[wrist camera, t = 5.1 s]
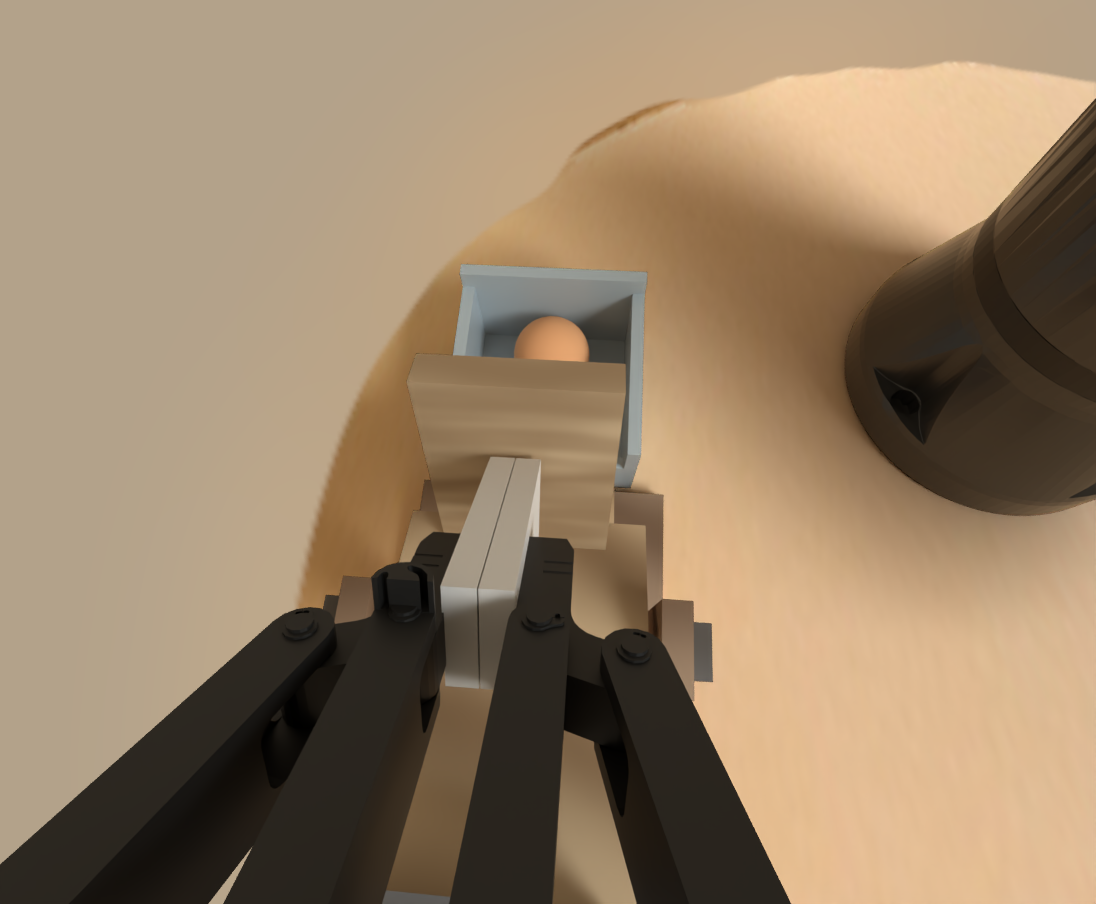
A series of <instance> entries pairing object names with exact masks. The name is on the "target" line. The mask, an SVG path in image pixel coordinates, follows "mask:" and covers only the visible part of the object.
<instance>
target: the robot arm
mask: <svg viewBox="0 0 1096 904" xmlns="http://www.w3.org/2000/svg"><path fill="white" fill-rule="evenodd" d="M845 373H846V381H847V387H848V390H849V394H850V398H851V400H852V403H853V406H854V408H855V411H856V413H857V415H858V417H859V419H860V421H861V423H862V425H863V426H864V428H865V429H866V431H867V433H868V434H869V435H870V437H871V438H872V440H873V441H874V442H875V444H876V445H877V446H878V447H879V448H880V450H881V451H882V452H883V453H884V454H885V455H886V456H887V457H888V458H889V459H890V460H891V461H892V462H893V463H894V464H895V465H896V466H897V467H898V468H900V469H901V470H902V471H903V472H904V473H906V474H907V475H908V476H910V477H911V478H912V479H914V480H915V481H917V482H918V483H920V484H921V485H923V486H924V487H926V488H928V489H929V490H931V491H933V492H935V493H936V494H938V495H941V496H943V497H945V498H947V499H949V500H951V501H954V502H956V503H959V504H962V505H964V506H967V507H970V508H974V509H978V510H981V511H986V512H991V513H996V514H1003V515H1015V516H1031V515H1042V514H1049V513H1054V512H1059V511H1062V510H1066V509H1069V508H1072V507H1075V506H1078V505H1081V504H1084V503H1086V502H1089V501H1092V500H1095V499H1096V99H1095V100H1094V101H1093V102H1092V103H1091V104H1090V105H1089V106H1088V107H1087V109H1086V110H1085V111H1084V112H1083V113H1082V114H1081V115H1080V116H1079V117H1078V119H1077V120H1076V121H1075V122H1074V123H1073V124H1072V125H1071V126H1070V127H1069V129H1068V130H1067V131H1066V132H1065V133H1064V134H1063V135H1062V136H1061V137H1060V139H1059V140H1058V141H1057V142H1056V143H1055V144H1054V145H1053V146H1052V147H1051V149H1050V150H1049V151H1048V152H1047V153H1046V154H1045V155H1044V156H1043V157H1042V159H1041V160H1040V161H1039V162H1038V163H1037V164H1036V165H1035V166H1034V167H1033V168H1032V170H1031V171H1030V172H1029V173H1028V174H1027V175H1026V176H1025V177H1024V178H1023V180H1022V181H1021V182H1020V183H1019V184H1018V185H1017V186H1016V187H1015V188H1014V190H1013V191H1012V192H1011V193H1010V194H1009V196H1008V197H1007V198H1006V199H1005V200H1004V201H1003V202H1002V203H1001V204H1000V205H999V207H998V208H997V209H996V210H995V211H994V212H993V213H992V214H991V215H990V216H989V217H988V218H987V219H986V220H984V221H982V222H980V223H978V224H977V225H975V226H973V227H971V228H970V229H968V230H966V231H964V232H963V233H961V234H959V235H957V236H956V237H954V238H952V239H950V240H949V241H947V242H945V243H943V244H942V245H940V246H938V247H936V248H935V249H933V250H931V251H930V252H928V253H926V254H925V255H923V256H921V257H919V258H917V259H915V260H913V261H912V262H910V263H908V264H907V265H905V266H904V267H902V268H901V269H900V270H898V271H897V272H896V273H895V274H893V275H892V276H891V277H890V278H889V279H888V280H887V281H886V282H885V283H884V284H883V285H882V286H881V287H880V288H879V290H878V291H877V292H876V293H875V295H874V296H873V297H872V298H871V300H870V301H869V302H868V303H867V305H866V306H865V307H864V309H863V310H862V311H861V313H860V314H859V316H858V317H857V319H856V321H855V323H854V325H853V327H852V329H851V332H850V335H849V338H848V342H847V347H846V354H845ZM540 474H541V459H524V458H516V460H515V458H506V457H490V459H489V462H488V464H487V467H486V470H485V472H484V475H483V477H482V480H481V483H480V485H479V488H478V490H477V493H476V495H475V498H474V501H473V503H472V506H471V508H470V511H469V514H468V516H467V519H466V521H465V524H464V526H463V529H462V532H461V533H446V532H432V533H431V534H430V535H428V536H427V537H426V538H424V539H423V540H422V541H421V542H420V543H419V545H418V547H417V549H416V552H415V555H414V556H413V558H412V560H411V562H398V563H395V564H391V565H387V566H385V567H383V568H382V569H380V570H378V571H377V572H376V573H375V574H374V575H373V576H372V577H371V582H372V591H373V600H374V611H373V613H372V615H371V616H370V617H368V618H365V619H361V620H357V621H351V622H344V623H337V624H335V622H334V618H333V617H332V615H331V614H330V612H327V611H325V610H323V609H321V608H311V607H308V608H301V609H296V610H293V611H291V612H288V613H285V614H284V615H282V616H280V617H279V618H278V619H276V620H275V621H273V622H272V623H271V624H270V625H269V626H268V627H266V628H265V629H264V630H263V631H262V632H261V633H260V634H259V635H258V636H256V637H255V638H254V639H253V640H252V641H251V642H250V643H249V644H247V645H246V646H245V647H244V648H243V649H242V650H241V651H239V652H238V653H237V654H236V655H235V656H234V657H233V658H232V659H230V660H229V662H227V663H226V664H225V665H224V666H223V667H222V668H220V669H219V670H218V671H217V672H216V673H215V674H214V675H213V676H212V677H210V678H209V679H208V680H207V681H206V682H205V683H204V684H203V685H201V686H200V687H199V688H198V689H197V690H196V691H195V692H193V693H192V694H191V695H190V696H189V697H188V698H187V699H186V700H184V701H183V702H182V703H181V704H180V705H179V706H178V707H177V708H176V709H174V710H173V711H172V712H171V713H170V714H169V715H168V716H166V717H165V718H164V719H163V720H162V721H161V722H160V723H159V724H157V725H156V726H155V727H154V728H153V729H152V730H151V731H150V732H148V733H147V734H146V735H145V736H144V737H143V738H142V739H141V740H140V741H138V742H137V743H136V744H135V745H134V746H133V747H132V748H130V750H128V751H127V752H126V753H125V754H124V755H123V756H122V757H120V758H119V760H117V761H116V762H115V763H114V764H112V765H111V767H109V768H108V769H107V770H106V771H105V772H104V773H102V774H101V775H100V776H99V777H98V778H97V779H96V780H95V781H94V782H92V783H91V784H90V785H89V786H88V787H87V788H86V789H84V790H83V791H82V792H81V793H80V794H79V795H78V796H77V797H75V798H74V799H73V800H72V801H71V802H70V803H69V804H68V805H66V806H65V807H64V808H63V809H62V810H61V811H60V812H59V813H57V814H56V815H55V816H54V817H53V818H52V819H51V820H50V821H48V822H47V823H46V824H45V825H44V826H43V827H42V828H41V829H39V830H38V831H37V832H36V833H35V834H34V835H33V836H32V837H31V838H30V839H28V840H27V841H26V842H25V843H24V844H23V845H21V846H20V847H19V848H18V849H17V850H16V851H15V852H14V853H13V854H11V855H10V856H9V857H8V858H7V859H6V860H5V861H4V862H2V863H1V864H0V904H208V903H209V902H210V901H211V899H212V898H213V897H214V896H215V894H216V893H217V892H218V890H219V889H220V888H221V887H222V885H223V884H224V883H225V881H226V880H227V879H228V877H229V876H230V875H231V874H232V872H233V871H234V870H235V868H236V867H237V866H238V864H239V863H240V862H241V860H242V859H243V858H244V857H245V855H246V854H247V852H248V851H249V850H250V849H251V847H252V846H253V847H252V849H251V851H250V853H249V855H248V857H247V859H246V861H245V863H244V865H243V867H242V869H241V871H240V872H239V874H238V876H237V878H236V880H235V882H234V884H233V886H232V888H231V890H230V892H229V894H228V896H227V898H226V900H225V901H224V903H223V904H382V902H383V899H384V896H385V892H386V889H387V885H388V882H389V878H390V875H391V872H392V868H393V865H394V861H395V858H396V854H397V851H398V848H399V844H400V841H401V837H402V834H403V830H404V827H405V824H406V820H407V817H408V813H409V810H410V806H411V803H412V800H413V796H414V793H415V789H416V786H417V782H418V779H419V776H420V772H421V769H422V765H423V762H424V758H425V755H426V752H427V748H428V745H429V741H430V738H431V734H432V731H433V728H434V724H435V721H436V717H437V714H438V710H439V707H440V683H441V680H442V677H443V673H444V670H445V686H451V687H464V688H477V689H479V686H480V689H491V690H493V694H492V699H491V704H490V709H489V713H488V718H487V723H486V728H485V733H484V737H483V742H482V747H481V752H480V757H479V762H478V766H477V771H476V776H475V781H474V786H473V790H472V795H471V800H470V805H469V810H468V814H467V819H466V824H465V829H464V834H463V839H462V843H461V848H460V853H459V858H458V863H457V867H456V872H455V877H454V882H453V887H452V891H451V896H450V901H449V904H553V898H554V882H555V866H556V850H557V833H558V817H559V801H560V785H561V769H562V753H563V740H564V730H565V731H567V732H570V733H572V734H575V735H577V736H580V737H583V738H585V739H588V740H590V741H593V742H594V750H595V754H596V757H597V761H598V765H599V768H600V772H601V776H602V779H603V783H604V786H605V790H606V794H607V797H608V801H609V805H610V808H611V812H612V816H613V819H614V823H615V827H616V830H617V834H618V837H619V841H620V845H621V848H622V852H623V856H624V859H625V863H626V867H627V870H628V874H629V878H630V881H631V885H632V888H633V892H634V896H635V899H636V903H637V904H791V903H790V901H789V899H788V896H787V894H786V892H785V890H784V888H783V886H782V884H781V882H780V880H779V878H778V876H777V874H776V872H775V870H774V868H773V866H772V864H771V862H770V860H769V858H768V856H767V854H766V851H765V849H764V847H763V845H762V843H761V841H760V839H759V837H758V835H757V833H756V831H755V829H754V827H753V825H752V823H751V821H750V819H749V817H748V815H747V813H746V811H745V808H744V806H743V804H742V802H741V800H740V798H739V796H738V794H737V792H736V790H735V788H734V786H733V784H732V782H731V780H730V778H729V776H728V774H727V772H726V770H725V768H724V766H723V763H722V761H721V759H720V757H719V755H718V753H717V751H716V749H715V747H714V745H713V743H712V741H711V739H710V737H709V735H708V733H707V731H706V729H705V727H704V725H703V723H702V721H701V718H700V716H699V714H698V712H697V710H696V708H695V706H694V704H693V702H692V700H691V698H690V696H689V694H688V692H687V690H686V688H685V686H684V684H683V682H682V680H681V678H680V675H679V673H678V671H677V669H676V667H675V665H674V663H673V661H672V659H671V657H670V655H669V653H668V651H667V649H666V647H665V646H664V644H663V643H662V642H661V641H660V639H658V638H657V637H655V636H654V635H652V634H651V633H649V632H646V631H643V630H639V629H629V628H624V629H620V630H616V631H613V632H612V633H610V634H609V635H607V636H606V637H605V639H602V638H599V637H596V636H594V635H591V634H589V633H587V632H585V631H584V630H582V629H581V628H579V626H578V625H577V624H576V623H575V622H574V620H573V618H572V615H571V599H572V582H573V564H574V549H573V547H572V546H571V544H570V543H569V541H568V540H567V539H562V538H547V537H539V510H540Z"/></svg>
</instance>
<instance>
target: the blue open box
mask: <svg viewBox="0 0 1096 904" xmlns="http://www.w3.org/2000/svg"><path fill="white" fill-rule="evenodd" d="M460 277H461V281H462V285H463V290H462V296H461V303H460V310H459V317H458V323H457V330H456V337H455V344H454V350H453V355H460V356H480V357H500V358H514V349H515V344H516V341H517V338H518V336H519V335H520V333H521V332H522V330H523V329H524V328H525V327H526V326H527V325H528V324H530V323H531V322H532V321H534V320H536V319H539V318H542V317H547V316H557V317H562V318H565V319H567V320H569V321H571V322H573V323H574V324H575V325H576V326H577V327H579V328H580V330H581V331H582V332H583V334H584V335H585V337H586V340H587V342H588V346H589V362H598V363H618V364H626V396H625V403H624V411H623V419H622V427H621V434H620V442H619V450H618V457H617V465H616V473H615V482H614V487H620V488H631V485H632V482H633V478H634V475H635V472H636V469H637V466H638V463H639V460H640V457H641V433H642V389H643V345H644V301H645V290H646V285H647V272H636V271H612V270H588V269H564V268H540V267H517V266H493V265H469V264H461V268H460Z"/></svg>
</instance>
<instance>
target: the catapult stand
mask: <svg viewBox="0 0 1096 904" xmlns="http://www.w3.org/2000/svg"><path fill="white" fill-rule="evenodd" d="M420 511H431V512H439V511H438V507H437V503H436V499H435V495H434V491H433V487H432V483H431V480H425V481H424V488H423V494H422V501H421V507H420ZM614 524H630V525H645V526H646V560H647V596H648V632H649V633H651V634H652V635H654V636H655V637H657V638H658V639H660V641H661V642H662V643H663V644H664V646H665V647H666V649H667V651H668V653H669V655H670V657H671V659H672V661H673V663H674V665H675V667H676V669H677V671H678V673H679V675H680V678H681V680H682V682H683V684H684V686H685V688H686V690H687V692H688V694H689V696H690V698H691V700H692V701H694V681H699V682H713V672H712V624H711V623H698V622H694V607H693V601H684V600H670V599H663V495H659V494H643V493H627V492H614ZM323 610H325V611H327V612H330V614H331V615H332V617H333V618H334V622H335V624H337V623H344V622H351V621H357V620H361V619H365V618H368V617H370V616H371V615H372V613H373V611H374V600H373V591H372V582H371V578H366V577H352V576H343V579H342V584H341V590H340V595H339V596H334V595H326V597H325V602H324V607H323Z"/></svg>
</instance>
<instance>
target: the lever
mask: <svg viewBox="0 0 1096 904" xmlns="http://www.w3.org/2000/svg"><path fill="white" fill-rule="evenodd" d="M406 382H407V386H408V390H409V394H410V398H411V402H412V406H413V410H414V414H415V418H416V422H417V426H418V431H419V435H420V439H421V443H422V447H423V451H424V455H425V459H426V463H427V467H428V471H429V475H430V479H431V483H432V487H433V491H434V495H435V499H436V503H437V507H438V511H439V512H431V511H416V510H413V513H412V517H411V521H410V524H409V528H408V532H407V535H406V539H405V542H404V546H403V550H402V553H401V557H400V561H399V562H411V560H412V558H413V556H414V555H415V552H416V549H417V547H418V545H419V543H420V542H421V541H422V540H423V539H424V538H426V537H427V536H428V535H430V534H431V533H432V532H446V533H461V532H462V529H463V526H464V524H465V521H466V519H467V516H468V514H469V511H470V508H471V506H472V503H473V501H474V498H475V495H476V493H477V490H478V488H479V485H480V483H481V480H482V477H483V475H484V472H485V470H486V467H487V464H488V462H489V459H490V457H506V458H515V460H516V458H524V459H541V474H540V510H539V537H547V538H562V539H567V540H568V541H569V543H570V544H571V546H572V547H573V549H574V564H573V582H572V599H571V615H572V618H573V620H574V622H575V623H576V624H577V625H578V626H579V628H581V629H582V630H584V631H585V632H587V633H589V634H591V635H594V636H596V637H599V638H602V639H605V637H606V636H607V635H609V634H610V633H612V632H613V631H616V630H620V629H624V628H629V629H639V630H643V631H646V632H648V596H647V560H646V526H645V525H630V524H614V482H615V473H616V465H617V457H618V450H619V442H620V434H621V427H622V419H623V411H624V403H625V396H626V364H618V363H598V362H579V361H559V360H539V359H519V358H500V357H480V356H460V355H440V354H421V353H416V355H415V358H414V361H413V364H412V367H411V370H410V373H409V376H408V379H407V381H406ZM492 694H493V690H491V689H480V686H479V689H477V688H464V687H451V686H445V670H444V673H443V677H442V680H441V683H440V707H439V710H438V714H437V717H436V721H435V724H434V728H433V731H432V734H431V738H430V741H429V745H428V748H427V752H426V755H425V758H424V762H423V765H422V769H421V772H420V776H419V779H418V782H417V786H416V789H415V793H414V796H413V800H412V803H411V806H410V810H409V813H408V817H407V820H406V824H405V827H404V830H403V834H402V837H401V841H400V844H399V848H398V851H397V854H396V858H395V861H394V865H393V868H392V872H391V875H390V878H389V882H388V885H387V889H386V892H385V896H384V899H383V902H382V904H449V901H450V896H451V891H452V887H453V882H454V877H455V872H456V867H457V863H458V858H459V853H460V848H461V843H462V839H463V834H464V829H465V824H466V819H467V814H468V810H469V805H470V800H471V795H472V790H473V786H474V781H475V776H476V771H477V766H478V762H479V757H480V752H481V747H482V742H483V737H484V733H485V728H486V723H487V718H488V713H489V709H490V704H491V699H492ZM553 904H637V903H636V899H635V896H634V892H633V888H632V885H631V881H630V878H629V874H628V870H627V867H626V863H625V859H624V856H623V852H622V848H621V845H620V841H619V837H618V834H617V830H616V827H615V823H614V819H613V816H612V812H611V808H610V805H609V801H608V797H607V794H606V790H605V786H604V783H603V779H602V776H601V772H600V768H599V765H598V761H597V757H596V754H595V750H594V742H593V741H590V740H588V739H585V738H583V737H580V736H577V735H575V734H572V733H570V732H567V731H565V730H564V740H563V753H562V769H561V785H560V801H559V817H558V833H557V850H556V866H555V882H554V898H553Z"/></svg>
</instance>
